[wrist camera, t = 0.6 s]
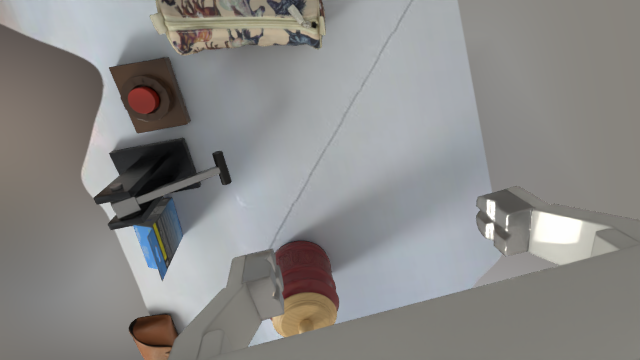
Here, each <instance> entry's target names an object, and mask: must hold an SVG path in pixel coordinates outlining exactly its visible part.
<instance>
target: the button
mask: <svg viewBox="0 0 640 360" xmlns="http://www.w3.org/2000/svg"><path fill="white" fill-rule="evenodd" d="M128 102H129V104H130V106H131V107H132V109H134V110H135V111H136V112H138V113H142V114H147V113H150V112H152V111H153V110H155V109H156V108H157V107H158V105H159V97H158V95H157V94H156V92H155V91H154V90H152V89H151V88H149V87H138V88H135V89H133V90H132V91H130V93H129V95H128Z"/></svg>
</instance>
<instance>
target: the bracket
mask: <svg viewBox="0 0 640 360" xmlns="http://www.w3.org/2000/svg"><path fill="white" fill-rule="evenodd" d="M109 154H110V157H111V159H112V161H113V163H114V165H115V167H116V169H117V171H118V173H119V175H120V176H119V177H117V178H116V179H115V180H114V181H113V182H112V183H110V184H109V185H108V186H107V187H106V188H105V189H103V190H102V191H101V192H100V193H99V194H98V195H97V196H95V197H94V200H95V202H96V204H102V203H107V202H113V201H118V200H123V199H128V198H131V197H132V196H133V195H134V196H136V195H139V194H142V193H144V192H147V191H150V190H152V189H155V188H158V187H161V186H163V185H166V184H169V183H171V182H174V181H177V180H179V179H182V178H185V177H188V176H190V175H193V174H196V173H197V172H196V169H195V166H194V164H193V161H192V158H191V155H190V153H189V150H188V147H187V144H186V142H185V139H184V138H180V139H175V140H169V141H164V142H159V143H153V144H148V145H143V146H137V147H132V148H126V149H121V150H116V151H112V152H110V153H109ZM200 186H201V183H200V181H199V182H197V183H194V184H191V185H189V186H186V187H183V188H181V189H178V190H176V191H173V192H178V191H183V190H189V189H194V188H199V187H200ZM173 192H170V193H173ZM163 196H164V195H163ZM163 196H160V197H157V198H155V199H152V200H150V201H147V202H144V203H142V204H138V205H139V207H140V209H141V210H139V211H137V212H134V213H132V214H129V215H127V216H124V217H121V218H119V219H118V217H117V215H116V216H115V217H114V218H113V219H112V220H111V221H110V222H109V223H108V226H109V228H110V229H111V230H114V229H119V228H124V227H129V226H134V225H139V224H144V222H145V221H146V220H147V218H148V217H149V215H150V214H151V213H152V211H153V210H154V209H155V207H156V206H157V204H158V203H159V202H160V200H161V199H162V198H163Z"/></svg>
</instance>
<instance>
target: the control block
mask: <svg viewBox="0 0 640 360" xmlns="http://www.w3.org/2000/svg"><path fill="white" fill-rule="evenodd" d="M109 69H110V72H111V74H112V76H113V79H114V81H115V83H116V86H117V88H118V90H119V93H120V95H121V100H122V102H123V104H124V107H125V109H126V110H127V111H128V113H129V116H130V118H131V120H132V123H133V125H134V127H135V130H136V132H137V133H143V132H148V131H154V130H159V129H165V128H170V127H175V126H181V125H186V124H188V123H189V122H190V121H191V120H190V117H189V114H188V111H187V109H186V106H185V103H184V100H183V97H182V94H181V91H180V88H179V85H178V82H177V80H176V77H175V74H174V71H173V68H172V65H171V62H170V59H169V57H167V58H161V59H155V60H149V61H143V62H137V63H132V64H126V65H120V66H114V67H109ZM138 87H149V88H151V89H152V90H154V91H155V92H156V94H157V95H158V97H159V105H158V107H157V108H156V109H155V110H153V111H152V112H150V113H147V114H142V113H138V112H136V111H135V110H134V109H132V107H131V106H130V104H129V102H128V95H129V93H130V91H132V90H133V89H135V88H138Z"/></svg>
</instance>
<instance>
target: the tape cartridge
mask: <svg viewBox="0 0 640 360" xmlns="http://www.w3.org/2000/svg"><path fill="white" fill-rule="evenodd" d="M133 227H134V229H135V232H136V235H137V237H138V240H139V243H140V245H141V248H142V251H143V253H144V256H145V259H146V262H147V264H148V267H149V268H154V269H158V270H159V273H160V276H161V280H162V281H163V279H164V276H165V274H166V272H167V269H168V267H169V265H170V263H171V260H172V258H173V256H174V254H175V252H176V250H177V248H178V246H179V243H180V241H181V239H182V237H183V235H182V231H181V227H180V223H179V220H178V216H177V213H176V209H175V206H174V202H173V199H172V198H164V199H161V200H160V202H159V203H158V204H157V206H156V207H155V209H154V210H153V211H152V213H151V214H150V215H149V217H148V218H147V220H146V221H145V222H144V224H139V225H134V226H133Z"/></svg>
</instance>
